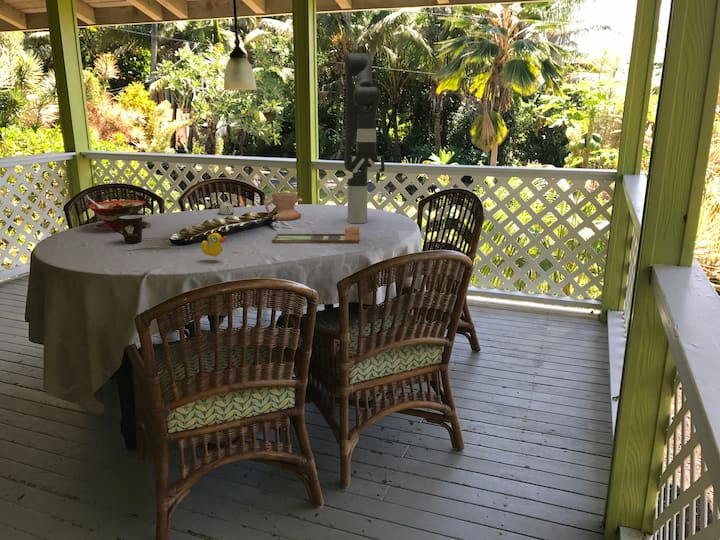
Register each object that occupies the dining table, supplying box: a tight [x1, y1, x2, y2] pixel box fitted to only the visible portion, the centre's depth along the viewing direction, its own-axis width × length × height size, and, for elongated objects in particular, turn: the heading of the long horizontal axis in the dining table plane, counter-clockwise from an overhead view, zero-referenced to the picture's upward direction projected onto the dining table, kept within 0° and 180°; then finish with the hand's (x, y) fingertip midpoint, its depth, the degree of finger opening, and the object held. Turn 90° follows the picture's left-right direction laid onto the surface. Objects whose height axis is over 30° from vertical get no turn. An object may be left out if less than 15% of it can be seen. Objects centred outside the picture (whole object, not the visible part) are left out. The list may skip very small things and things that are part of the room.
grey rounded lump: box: [217, 199, 236, 216], centre depth 285 cm, size 9×8×10 cm
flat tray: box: [271, 233, 360, 244], centre depth 237 cm, size 14×35×1 cm, turn 90°
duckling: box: [200, 232, 227, 257], centre depth 207 cm, size 10×4×8 cm, turn 80°
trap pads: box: [310, 236, 340, 240], centre depth 238 cm, size 12×12×1 cm
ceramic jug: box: [264, 191, 303, 222], centre depth 276 cm, size 18×14×14 cm
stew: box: [84, 193, 151, 233], centre depth 256 cm, size 28×24×16 cm
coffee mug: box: [111, 214, 143, 244], centre depth 232 cm, size 12×9×10 cm
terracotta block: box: [344, 226, 360, 241], centre depth 237 cm, size 6×6×4 cm
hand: (366, 182), depth 228 cm, fingers open, 8 cm apart
